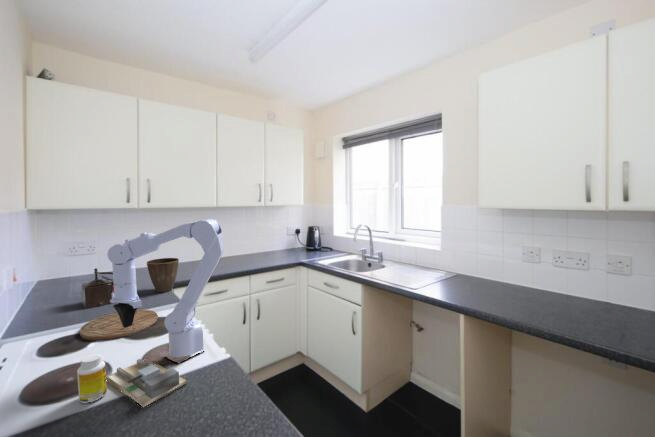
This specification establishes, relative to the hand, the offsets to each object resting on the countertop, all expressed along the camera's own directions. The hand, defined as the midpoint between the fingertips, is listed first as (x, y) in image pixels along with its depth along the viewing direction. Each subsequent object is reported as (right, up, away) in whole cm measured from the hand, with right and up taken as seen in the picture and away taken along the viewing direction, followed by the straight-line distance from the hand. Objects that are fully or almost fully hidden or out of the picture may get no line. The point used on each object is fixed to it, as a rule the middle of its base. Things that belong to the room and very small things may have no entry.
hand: (127, 326), depth 94 cm
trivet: (-19, -9, +25) cm, 33 cm away
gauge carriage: (+13, -10, -14) cm, 22 cm away
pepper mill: (-44, -7, +52) cm, 68 cm away
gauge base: (+12, -11, -11) cm, 20 cm away
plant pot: (-25, -5, +69) cm, 73 cm away
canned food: (-55, -5, +72) cm, 90 cm away
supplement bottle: (+3, -12, -17) cm, 21 cm away
